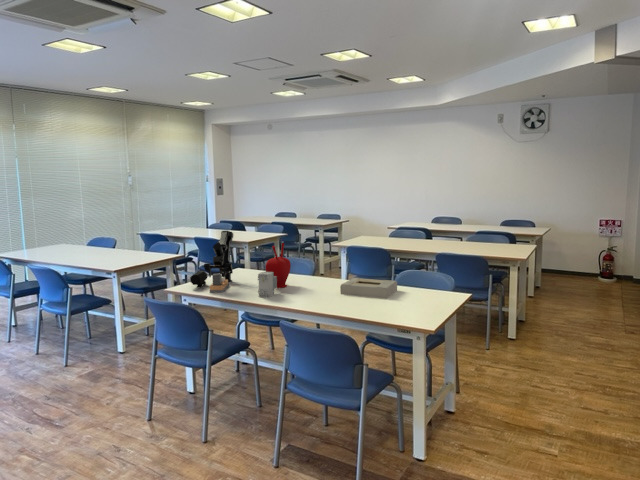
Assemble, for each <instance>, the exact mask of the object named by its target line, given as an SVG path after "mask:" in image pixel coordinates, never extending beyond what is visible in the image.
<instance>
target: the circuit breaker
mask: <svg viewBox="0 0 640 480" xmlns="http://www.w3.org/2000/svg"><path fill="white" fill-rule="evenodd" d="M257 281H258V289H257V290H258V291H257V293H258V297H259V298H270V297H272V296H274V295H275V290H276V289H278V288H277V276H274V272H266V271H261V272H259V273H258V274H257Z"/></svg>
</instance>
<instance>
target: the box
mask: <svg viewBox="0 0 640 480" xmlns="http://www.w3.org/2000/svg"><path fill="white" fill-rule="evenodd" d="M396 291H398V281H397V280H388V279H372V278H361V277H352V278H350V279H349V280H346V281H345V282H344V283H341V284H340V291H339V292H340V295H346V296H348V295H349V296H359V297H367V298H369V297H371V298H379V299H380V298H381V299H388V298H390V297H391V296H392V295H393V294H395V293H396Z"/></svg>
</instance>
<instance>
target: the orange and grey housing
mask: <svg viewBox="0 0 640 480" xmlns="http://www.w3.org/2000/svg"><path fill="white" fill-rule="evenodd" d="M229 286H230V282H228V280H225V277H222V285H217V286H213V282H212V283H211V284H210V285H209V293H211V294H212V293H224V291H226V290H227V288H228V287H229Z"/></svg>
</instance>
